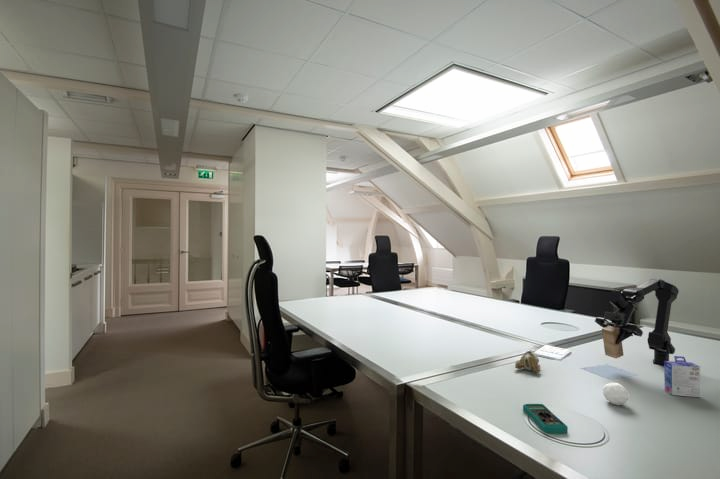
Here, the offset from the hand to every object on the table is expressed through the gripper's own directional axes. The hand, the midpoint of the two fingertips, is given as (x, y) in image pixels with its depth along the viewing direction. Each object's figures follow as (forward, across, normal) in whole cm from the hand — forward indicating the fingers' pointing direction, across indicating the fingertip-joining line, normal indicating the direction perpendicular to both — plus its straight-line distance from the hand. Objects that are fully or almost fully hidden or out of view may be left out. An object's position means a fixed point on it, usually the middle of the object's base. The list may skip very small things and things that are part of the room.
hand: (610, 342), depth 162 cm
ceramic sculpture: (+30, -14, -20) cm, 39 cm away
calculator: (+14, -28, +5) cm, 32 cm away
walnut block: (+4, 0, +6) cm, 7 cm away
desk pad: (+12, 0, +7) cm, 14 cm away
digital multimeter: (+48, +25, -47) cm, 72 cm away
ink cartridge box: (+9, +25, +12) cm, 29 cm away
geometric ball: (+28, +23, -17) cm, 40 cm away
